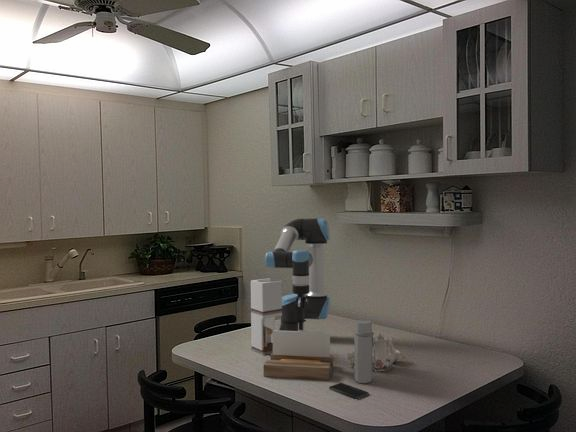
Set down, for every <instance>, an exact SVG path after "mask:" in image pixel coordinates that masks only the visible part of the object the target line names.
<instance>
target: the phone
mask: <svg viewBox="0 0 576 432" xmlns="http://www.w3.org/2000/svg"><path fill="white" fill-rule="evenodd" d="M328 389H329V390H330V391H333V392H335V393H337V394H340V395H342V396H345V397H347V398H350V399H352V398H353V400H355V399H358V400H360V399H363V398H365V397H367V395H368V396H370V395H369V394H370V393H369V391H366V390H363V389H361V388H357V387H356V386H355V387H354V386H351V385H349V384H347V383H344V382H339V383H337V384H333V385H331V386H329V388H328ZM364 396H365V397H364ZM362 397H363V398H362ZM359 398H360V399H359Z"/></svg>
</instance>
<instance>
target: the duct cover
mask: <svg viewBox="0 0 576 432" xmlns="http://www.w3.org/2000/svg"><path fill="white" fill-rule="evenodd" d="M272 343H273V355H289V356H310V357H330V355H331V332H327V331H326V332H325V331H324V332H323V331H305V332H303V331H279V329H278V330H277V329H275V330H273V331H272Z"/></svg>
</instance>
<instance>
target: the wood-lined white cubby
mask: <svg viewBox="0 0 576 432" xmlns="http://www.w3.org/2000/svg"><path fill="white" fill-rule="evenodd" d="M282 283H283V281H282V280H277V281H276V280H274V281H271V278H263V279H262V278H261V279H252V280H250V325H251V326H250V329H251V330H250V332H251V333H250V336H251V338H250V340H251V348H250V349H251V351H252V352H255V353H257V354H260V355H262V356H266V355H269V354H270V355H271V354H272V352H273V341H272V335H273V333H272V331H273V330H276V324H275V322H276V321H275V320H276V319H275V318H276V317H281V315H282V297H283V292H282V291H283V289H282Z"/></svg>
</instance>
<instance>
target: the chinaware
mask: <svg viewBox="0 0 576 432" xmlns="http://www.w3.org/2000/svg"><path fill="white" fill-rule="evenodd" d="M394 339H395V338H394V337H392V336H391V337H390V339H389V341H388V338H387V337H384V336H383V334H382V332H379V333H378V335H376V337H373V341H374V349H373V351H372V367H373V368H374V365H375V359H376V366H375V368H374V369H373V368H372V371H373V370H376V371H387V370H389V369H390V368H392V367H393V365H394V363H395V362H396V363H398V361H403V360H404V357H405V356H404V354H403V353H401V352H402V351H401V350H398V349H397V348H394V344H393V340H394ZM387 342H388V348H387ZM374 350H375V359H374ZM401 355H402V359H399V357H400V356H401ZM347 361H348V362H349V363H348V364H347ZM344 362H345V365H346V366H350V367H353V366H354V367H353V368H355V351H353V352H351V353H350V352H348V353H346V359H345V361H344ZM393 362H394V363H393ZM390 370H391V369H390ZM390 370H389V371H390ZM376 371H375V372H376ZM387 372H388V371H387Z"/></svg>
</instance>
